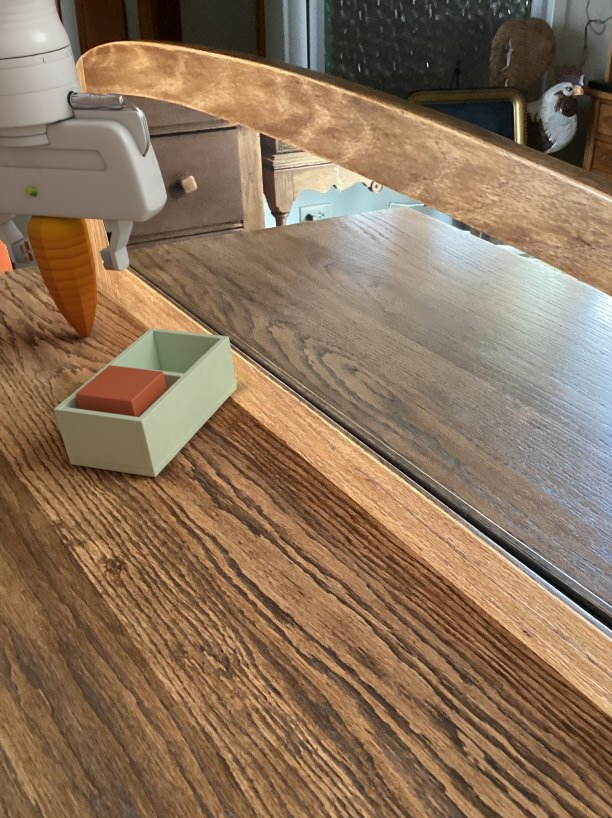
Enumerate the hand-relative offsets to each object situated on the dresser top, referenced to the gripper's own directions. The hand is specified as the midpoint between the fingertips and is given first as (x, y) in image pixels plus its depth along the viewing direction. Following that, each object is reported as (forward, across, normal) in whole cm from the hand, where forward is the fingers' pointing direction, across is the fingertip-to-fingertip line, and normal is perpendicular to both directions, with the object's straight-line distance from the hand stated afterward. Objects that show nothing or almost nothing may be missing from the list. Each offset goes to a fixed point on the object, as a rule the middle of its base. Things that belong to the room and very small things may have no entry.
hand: (70, 264), depth 78 cm
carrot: (+7, 0, 0) cm, 7 cm away
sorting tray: (+7, -14, +12) cm, 20 cm away
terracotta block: (+6, -14, +16) cm, 22 cm away
